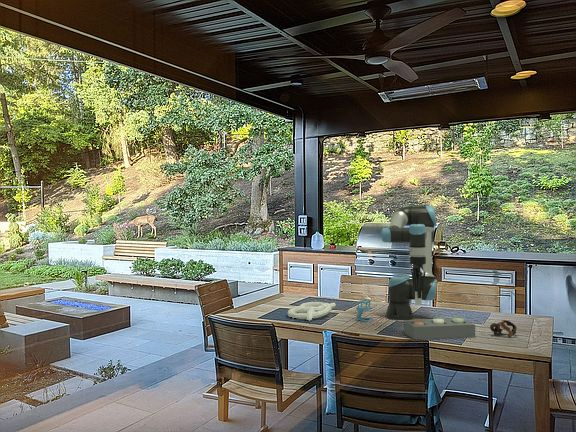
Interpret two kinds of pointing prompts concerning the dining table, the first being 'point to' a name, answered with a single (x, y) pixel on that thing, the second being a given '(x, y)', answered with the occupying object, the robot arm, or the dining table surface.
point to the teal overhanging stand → (361, 309)
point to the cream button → (438, 321)
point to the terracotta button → (418, 323)
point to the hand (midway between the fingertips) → (418, 304)
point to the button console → (439, 329)
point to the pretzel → (311, 310)
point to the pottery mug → (497, 328)
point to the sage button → (458, 320)
